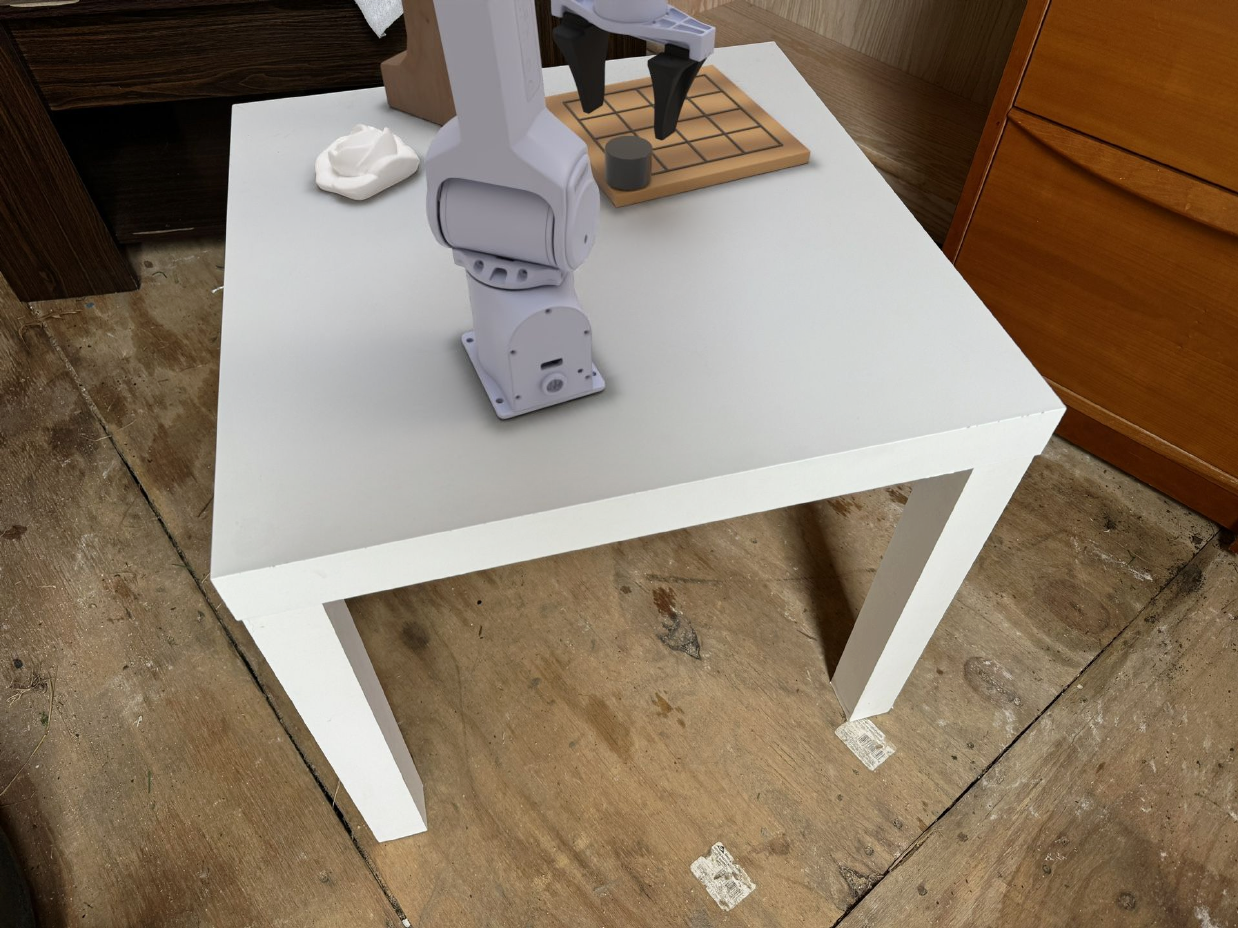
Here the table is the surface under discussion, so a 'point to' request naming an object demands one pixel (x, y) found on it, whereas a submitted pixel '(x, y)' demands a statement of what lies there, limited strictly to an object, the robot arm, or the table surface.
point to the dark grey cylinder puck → (628, 163)
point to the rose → (364, 163)
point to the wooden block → (420, 68)
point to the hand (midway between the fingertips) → (628, 121)
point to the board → (683, 135)
